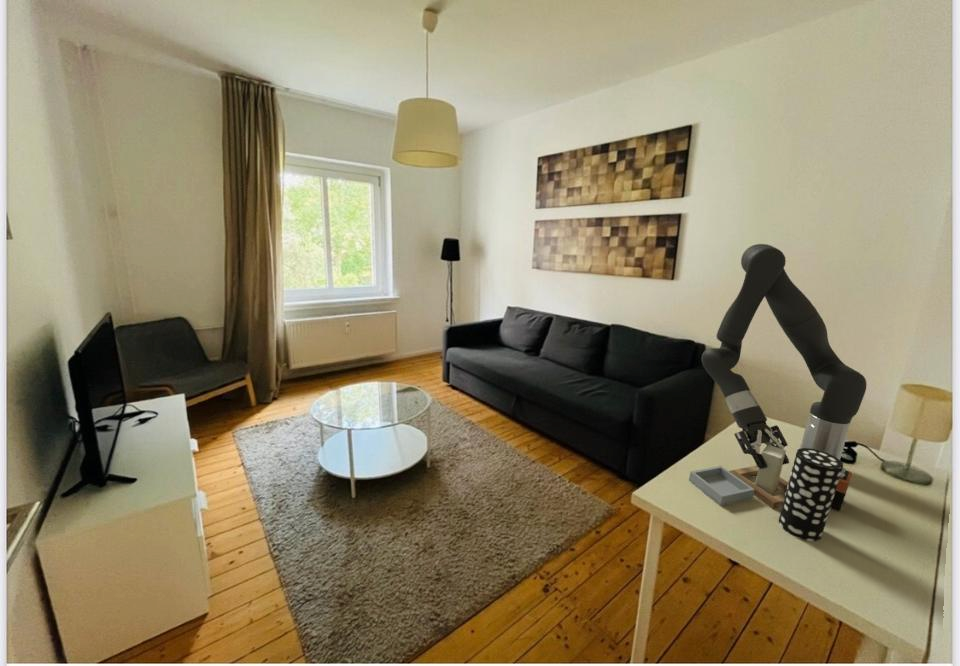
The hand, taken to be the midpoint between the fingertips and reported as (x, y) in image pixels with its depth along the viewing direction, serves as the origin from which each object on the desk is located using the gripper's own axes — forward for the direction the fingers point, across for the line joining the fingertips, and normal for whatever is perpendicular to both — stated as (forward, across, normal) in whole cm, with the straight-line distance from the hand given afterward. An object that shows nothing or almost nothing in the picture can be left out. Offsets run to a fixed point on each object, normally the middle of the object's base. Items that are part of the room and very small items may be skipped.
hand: (774, 466), depth 107 cm
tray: (+3, -13, +8) cm, 16 cm away
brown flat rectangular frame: (+5, 0, +6) cm, 8 cm away
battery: (+11, +12, 0) cm, 17 cm away
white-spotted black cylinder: (+15, -6, -3) cm, 16 cm away
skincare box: (+5, 0, +7) cm, 8 cm away
